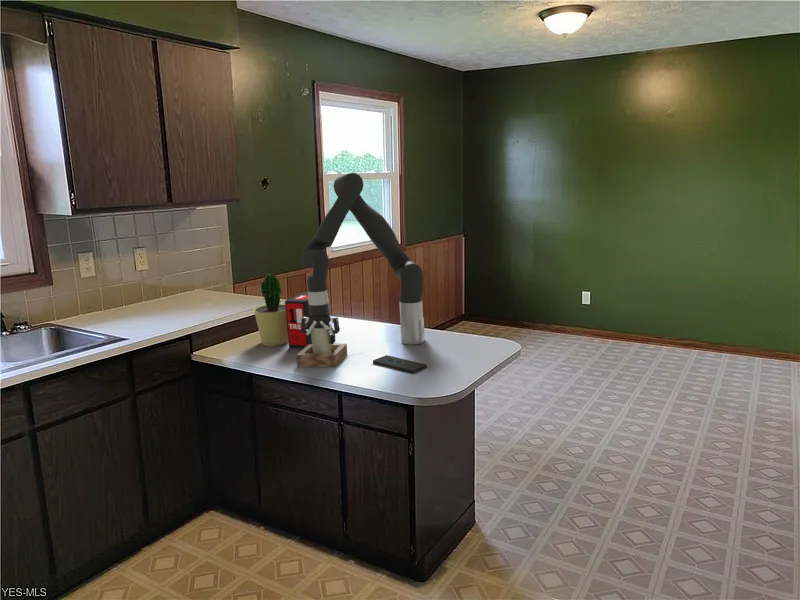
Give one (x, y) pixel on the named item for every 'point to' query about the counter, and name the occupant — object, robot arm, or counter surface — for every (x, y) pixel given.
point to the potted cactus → (272, 313)
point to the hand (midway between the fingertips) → (321, 343)
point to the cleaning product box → (297, 320)
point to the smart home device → (400, 364)
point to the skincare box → (321, 341)
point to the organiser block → (321, 356)
